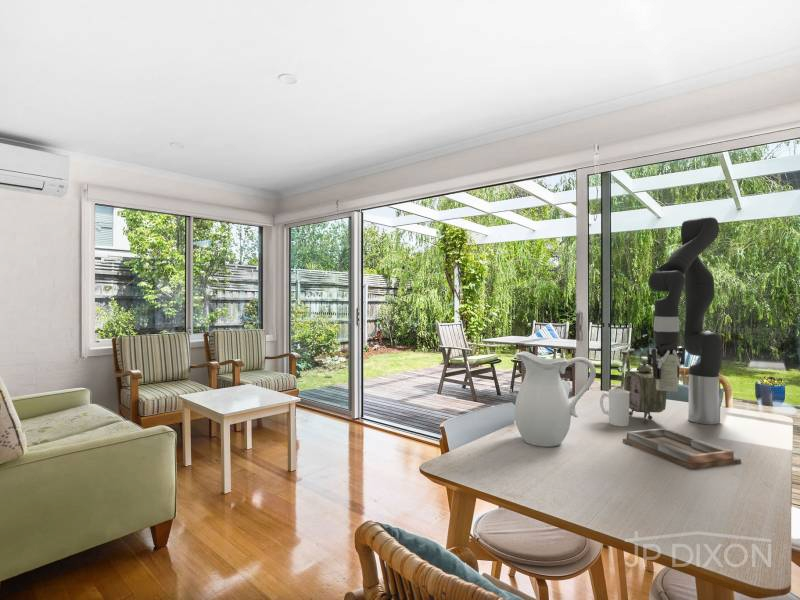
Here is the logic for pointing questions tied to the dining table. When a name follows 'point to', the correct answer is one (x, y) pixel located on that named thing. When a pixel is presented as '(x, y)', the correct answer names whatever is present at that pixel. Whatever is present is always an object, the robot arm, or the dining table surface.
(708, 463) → the wooden tray
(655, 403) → the tabletop clock
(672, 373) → the skincare box
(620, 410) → the mug
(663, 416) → the dining table surface
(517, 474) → the dining table surface
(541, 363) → the pitcher
